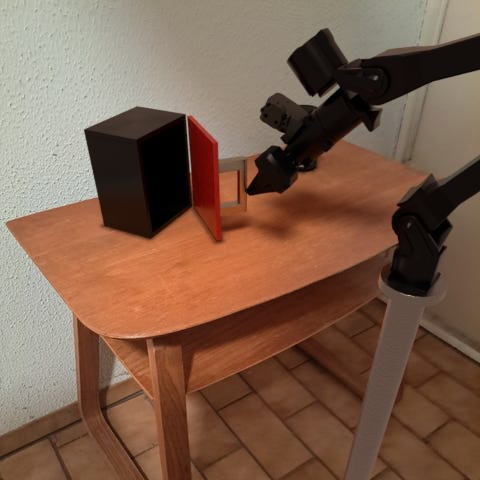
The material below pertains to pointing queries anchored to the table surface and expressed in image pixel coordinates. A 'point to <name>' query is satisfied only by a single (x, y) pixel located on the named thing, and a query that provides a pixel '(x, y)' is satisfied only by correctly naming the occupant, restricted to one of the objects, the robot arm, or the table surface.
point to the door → (213, 178)
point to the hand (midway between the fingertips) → (259, 182)
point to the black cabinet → (141, 169)
